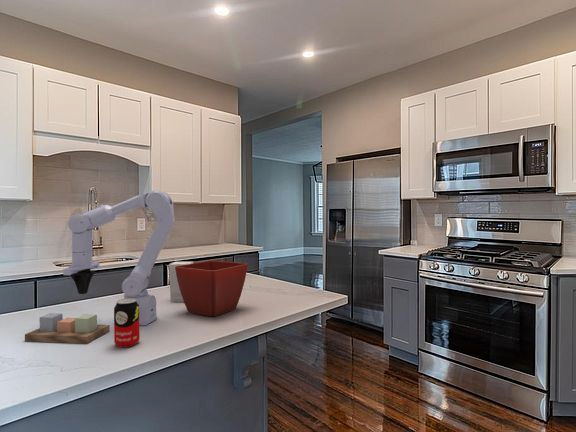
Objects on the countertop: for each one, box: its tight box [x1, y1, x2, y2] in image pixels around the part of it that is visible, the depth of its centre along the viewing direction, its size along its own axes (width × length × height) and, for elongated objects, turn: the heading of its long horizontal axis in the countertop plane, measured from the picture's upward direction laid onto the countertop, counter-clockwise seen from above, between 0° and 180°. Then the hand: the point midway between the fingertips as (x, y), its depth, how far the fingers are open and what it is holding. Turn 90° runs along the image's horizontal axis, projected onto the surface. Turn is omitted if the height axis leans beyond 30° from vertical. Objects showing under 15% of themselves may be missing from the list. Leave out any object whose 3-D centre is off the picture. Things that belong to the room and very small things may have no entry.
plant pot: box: [175, 260, 248, 317], centre depth 130 cm, size 19×19×17 cm
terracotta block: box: [57, 317, 76, 333], centre depth 104 cm, size 4×4×4 cm
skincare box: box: [168, 261, 194, 303], centre depth 145 cm, size 8×7×16 cm
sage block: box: [74, 313, 98, 333], centre depth 104 cm, size 4×4×4 cm
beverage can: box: [113, 298, 141, 348], centre depth 98 cm, size 6×6×12 cm
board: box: [24, 324, 111, 345], centre depth 104 cm, size 19×10×2 cm, turn 84°
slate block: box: [39, 312, 64, 332], centre depth 105 cm, size 4×4×4 cm
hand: (82, 293), depth 115 cm, fingers closed
